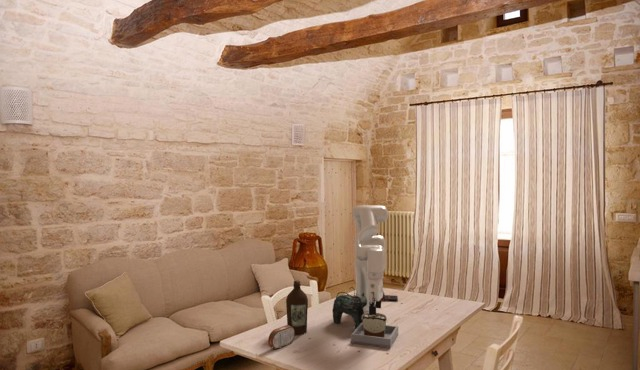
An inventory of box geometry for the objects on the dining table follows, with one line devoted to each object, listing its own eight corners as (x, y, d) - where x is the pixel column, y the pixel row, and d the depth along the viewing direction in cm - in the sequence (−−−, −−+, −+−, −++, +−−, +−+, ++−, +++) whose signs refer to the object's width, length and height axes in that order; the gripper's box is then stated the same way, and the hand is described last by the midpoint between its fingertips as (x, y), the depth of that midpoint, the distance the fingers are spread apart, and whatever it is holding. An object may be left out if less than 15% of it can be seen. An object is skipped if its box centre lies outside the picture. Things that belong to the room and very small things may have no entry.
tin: (291, 340, 211) (290, 322, 210) (296, 342, 209) (296, 323, 208) (267, 350, 199) (267, 331, 199) (272, 352, 197) (272, 332, 197)
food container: (389, 334, 214) (389, 313, 214) (387, 339, 209) (387, 317, 208) (364, 332, 219) (364, 311, 218) (361, 336, 213) (361, 315, 212)
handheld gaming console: (397, 302, 274) (397, 285, 274) (377, 301, 276) (377, 284, 276) (397, 297, 284) (397, 281, 283) (377, 297, 285) (377, 281, 285)
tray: (351, 343, 207) (351, 334, 207) (361, 330, 224) (361, 322, 224) (390, 348, 201) (390, 339, 201) (398, 334, 217) (398, 326, 217)
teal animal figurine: (368, 329, 226) (368, 288, 226) (360, 332, 221) (360, 291, 221) (337, 320, 239) (337, 282, 239) (329, 323, 235) (329, 284, 234)
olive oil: (284, 329, 226) (284, 279, 225) (305, 327, 228) (305, 277, 228) (288, 336, 216) (287, 284, 215) (310, 334, 218) (309, 282, 217)
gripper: (378, 280, 202) (378, 318, 203) (387, 271, 218) (387, 306, 219) (362, 278, 205) (362, 316, 206) (371, 270, 221) (371, 304, 222)
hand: (375, 311), depth 213 cm, fingers open, 9 cm apart
